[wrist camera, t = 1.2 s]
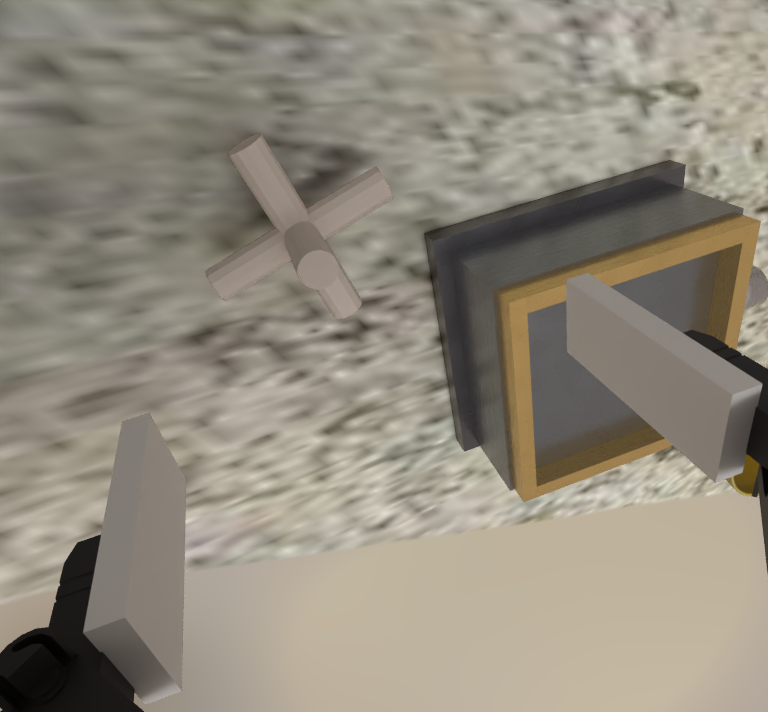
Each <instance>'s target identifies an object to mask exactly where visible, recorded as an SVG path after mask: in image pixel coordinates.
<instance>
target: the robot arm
mask: <svg viewBox="0 0 768 712" xmlns="http://www.w3.org/2000/svg"><path fill="white" fill-rule="evenodd" d="M566 309H567V352H568V353H569V354H570V355H571V356H572V357H574V358H575V359H576V360H577V361H578V362H579V363H580V364H581V365H583V366H584V367H585V368H586V369H587V370H588V371H589V372H591V373H592V374H593V375H594V376H595V377H596V378H597V379H598V380H600V381H601V382H602V383H603V384H604V385H605V386H606V387H607V388H609V389H610V390H611V391H612V392H613V393H614V394H615V395H617V396H618V397H619V398H620V399H621V400H622V401H623V402H624V403H626V404H627V405H628V406H629V407H630V408H631V409H632V410H634V411H635V412H636V413H637V414H638V415H639V416H640V417H641V418H643V419H644V420H645V421H646V422H647V423H648V424H649V425H650V426H652V427H653V428H654V429H655V430H656V431H657V432H658V433H660V434H661V435H662V436H663V437H664V438H665V439H666V440H667V441H669V442H670V443H671V444H672V445H673V446H674V447H675V448H676V449H678V450H679V451H680V452H681V453H682V454H683V455H684V456H686V457H687V458H688V459H689V460H690V461H691V462H692V463H693V464H695V465H696V466H697V467H698V468H699V469H700V470H701V471H703V472H704V473H705V474H706V475H707V476H708V477H709V478H710V479H712V480H713V481H714V482H715V483H717V482H720V481H722V480H725V479H727V478H730V477H733V476H735V475H738V474H740V473H743V468H744V464H745V460H746V455H749V456H750V457H751V458H753V459H754V460H755V461H756V462H758V463H759V468H758V472H757V476H756V480H755V484H754V488H753V493H752V496H753V497H757V496H758V492H759V498H760V507H761V516H762V526H763V535H764V544H765V554H766V563H767V571H768V369H766V368H765V367H763V366H761V365H760V364H758V363H756V362H755V361H753V360H751V359H750V358H748V357H746V356H745V355H744V356H742V355H741V353H740V352H738V351H737V350H735V349H733V348H732V347H731V348H729V347H728V345H727V344H725V343H723V342H722V341H720V340H718V339H717V338H715V337H713V336H711V335H708V334H705V333H701V332H698V331H695V330H689V331H686V332H684V333H682V332H680V331H679V330H677V329H676V328H674V327H672V326H671V325H669V324H668V323H666V322H665V321H663V320H661V319H660V318H658V317H657V316H655V315H654V314H652V313H650V312H649V311H647V310H646V309H644V308H643V307H641V306H639V305H638V304H636V303H635V302H633V301H632V300H630V299H628V298H627V297H625V296H624V295H622V294H621V293H619V292H617V291H616V290H614V289H613V288H611V287H610V286H608V285H606V284H605V283H603V282H602V281H600V280H598V279H597V278H595V277H594V276H592V275H591V274H589V273H586V274H582V275H579V276H576V277H573V278H570V279H567V280H566ZM185 515H186V479H185V478H184V476H183V474H182V472H181V470H180V468H179V467H178V465H177V463H176V461H175V459H174V457H173V456H172V454H171V452H170V450H169V448H168V446H167V444H166V443H165V441H164V439H163V437H162V435H161V433H160V432H159V430H158V428H157V426H156V424H155V422H154V421H153V419H152V417H151V415H150V413H148V414H145V415H141V416H138V417H135V418H132V419H129V420H126V421H123V422H122V425H121V431H120V436H119V441H118V447H117V452H116V458H115V463H114V468H113V474H112V479H111V485H110V490H109V495H108V501H107V506H106V512H105V517H104V522H103V528H102V533H101V535H98V536H95V537H92V538H89V539H87V540H84V541H81V542H78V543H77V544H76V546H75V547H74V549H73V550H72V552H71V553H70V555H69V556H68V558H67V559H66V561H65V563H64V566H63V570H62V574H61V578H60V582H59V583H60V586H59V587H58V591H57V595H56V602H55V603H54V607H53V611H52V615H51V619H50V623H49V627H46V628H38V629H34V630H32V631H30V632H27V633H25V634H23V635H21V636H20V637H18V638H17V639H16V640H14V641H13V642H12V643H10V644H9V645H8V646H7V647H6V648H5V649H4V650H3V651H2V652H1V653H0V708H1V709H2V711H1V712H144V711H143V710H142V709H140V708H139V707H138V706H137V705H136V704H135V703H134V702H133V701H134V692H135V693H136V694H137V695H138V697H139V698H140V699H141V700H142V701H143V702H144V703H145V704H149V703H151V702H154V701H157V700H159V699H162V698H164V697H167V696H169V695H172V694H175V693H177V692H180V691H182V654H183V650H182V649H183V609H184V607H183V606H184V562H185Z"/></svg>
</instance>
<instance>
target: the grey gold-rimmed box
mask: <svg viewBox="0 0 768 712" xmlns="http://www.w3.org/2000/svg"><path fill="white" fill-rule="evenodd" d="M685 167H686V165H684V164H681V163H677V162H674V161H671V160H669V161H666V162H662V163H659V164H656V165H652V166H649V167H646V168H642V169H639V170H636V171H632V172H629V173H626V174H622V175H619V176H615V177H612V178H609V179H605V180H602V181H599V182H595V183H592V184H589V185H585V186H582V187H579V188H575V189H572V190H569V191H565V192H562V193H559V194H555V195H552V196H548V197H545V198H542V199H538V200H535V201H532V202H528V203H525V204H522V205H518V206H515V207H512V208H508V209H505V210H502V211H498V212H495V213H491V214H488V215H485V216H481V217H478V218H475V219H471V220H468V221H465V222H461V223H458V224H455V225H451V226H448V227H445V228H441V229H438V230H435V231H431V232H428V233H425V239H426V245H427V252H428V258H429V265H430V271H431V277H432V284H433V290H434V297H435V303H436V309H437V316H438V322H439V328H440V335H441V341H442V348H443V354H444V360H445V367H446V373H447V380H448V386H449V392H450V399H451V405H452V412H453V418H454V424H455V431H456V437H457V441H458V442H459V444H460V445H461V447H462V449H463V450H464V451H467V450H470V449H473V448H475V447H478V446H480V447H481V448H482V450H483V451H484V453H485V454H486V456H487V457H488V458H489V460H490V461H491V463H492V464H493V466H494V467H495V469H496V470H497V472H498V473H499V475H500V476H501V478H502V479H503V481H504V482H505V484H506V485H507V486H508V488H509V489H510V491H511V490H513V489H515V490H516V491H517V493H518V494H519V496H520V497H521V499H522V500H523V502H526V501H528V500H531V499H533V498H536V497H539V496H541V495H544V494H547V493H549V492H552V491H555V490H557V489H560V488H562V487H565V486H568V485H570V484H573V483H576V482H578V481H581V480H584V479H586V478H589V477H591V476H594V475H597V474H599V473H602V472H605V471H607V470H610V469H613V468H615V467H618V466H620V465H623V464H626V463H628V462H631V461H634V460H636V459H639V458H642V457H644V456H647V455H649V454H652V453H655V452H657V451H660V450H663V449H665V448H668V447H671V446H673V445H672V444H671V443H670V442H669V441H667V440H666V439H665V438H664V437H663V436H662V435H661V434H660V433H658V432H657V431H656V430H655V429H654V428H653V427H652V426H650V425H649V424H648V423H647V422H646V421H645V420H644V419H643V418H641V417H640V416H639V415H638V414H637V413H636V412H635V411H634V410H632V409H631V408H630V407H629V406H628V405H627V404H626V403H624V402H623V401H622V400H621V399H620V398H619V397H618V396H617V395H615V394H614V393H613V392H612V391H611V390H610V389H609V388H607V387H606V386H605V385H604V384H603V383H602V382H601V381H600V380H598V379H597V378H596V377H595V376H594V375H593V374H592V373H591V372H589V371H588V370H587V369H586V368H585V367H584V366H583V365H581V364H580V363H579V362H578V361H577V360H576V359H575V358H574V357H572V356H571V355H570V354H569V353H568V352H567V309H566V280H567V279H570V278H573V277H576V276H579V275H582V274H586V273H589V274H591V275H592V276H594V277H595V278H597V279H598V280H600V281H602V282H603V283H605V284H606V285H608V286H610V287H611V288H613V289H614V290H616V291H617V292H619V293H621V294H622V295H624V296H625V297H627V298H628V299H630V300H632V301H633V302H635V303H636V304H638V305H639V306H641V307H643V308H644V309H646V310H647V311H649V312H650V313H652V314H654V315H655V316H657V317H658V318H660V319H661V320H663V321H665V322H666V323H668V324H669V325H671V326H672V327H674V328H676V329H677V330H679V331H680V332H682V333H684V332H686V331H689V330H695V331H698V332H701V333H705V334H708V335H711V336H713V337H715V338H717V339H718V340H720V341H722V342H723V343H725V344H727V345H728V347H729V348H731V347H732V348H733V349H735V350H736V348H737V342H738V337H739V332H740V327H741V322H742V316H743V311H744V310H745V309H748V308H751V307H754V306H757V305H760V304H762V303H763V302H764V301H765V300H766V299H767V297H768V281H767V278H766V276H765V275H764V273H763V272H762V271H761V270H760V269H758V268H757V267H755V266H753V265H752V264H753V259H754V254H755V248H756V243H757V238H758V233H759V228H760V222H761V221H758V220H756V219H753V218H750V217H747V216H744V215H743V209H744V208H741V207H738V206H735V205H732V204H729V203H726V202H723V201H720V200H717V199H714V198H711V197H708V196H706V195H703V194H700V193H697V192H694V191H691V190H688V189H685V188H683V185H684V176H685Z"/></svg>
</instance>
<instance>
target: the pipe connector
mask: <svg viewBox="0 0 768 712" xmlns="http://www.w3.org/2000/svg"><path fill="white" fill-rule="evenodd" d="M228 157H229V158H230V160H231V161H232V163H233V164H234V166H235V167H236V169H237V170H238V172H239V173H240V175H241V176H242V178H243V179H244V181H245V182H246V184H247V185H248V187H249V188H250V190H251V191H252V193H253V195H254V196H255V198H256V199H257V201H258V202H259V204H260V205H261V207H262V208H263V210H264V211H265V213H266V214H267V216H268V217H269V219H270V220H271V222H272V223H273V225H274V226H275V228H274V229H273V230H271V231H269V232H268V233H266V234H265V235H263V236H261V237H260V238H258V239H256V240H255V241H253V242H252V243H250V244H248V245H247V246H245V247H243V248H242V249H240V250H238V251H237V252H235V253H234V254H232V255H230V256H229V257H227V258H225V259H224V260H222V261H221V262H219V263H217V264H216V265H214V266H212V267H211V268H209V269H208V270H206V271H205V272H206V275H207V278H208V280H209V281H210V283H211V285H212V286H213V288H214V289H215V291H216V292H217V293H218V294H219V295H220V297H221V298H222V299H224V300H225V301H226V300H228V299H230V298H231V297H233V296H235V295H236V294H238V293H240V292H241V291H243V290H244V289H246V288H248V287H249V286H251V285H253V284H254V283H256V282H257V281H259V280H261V279H262V278H264V277H266V276H267V275H269V274H271V273H272V272H274V271H275V270H277V269H279V268H280V267H282V266H284V265H285V264H287V263H289V262H290V261H292V263H293V265H294V268H295V270H296V272H297V275H298V277H299V279H300V281H301V282H302V283H303V285H305V286H306V287H308V288H311V289H316V290H317V292H318V293H319V295H320V296H321V298H322V299H323V301H324V303H325V304H326V306H327V307H328V309H329V310H330V312H331V313H332V315H333V316H334V317H335V318H337V319H343V318H346V317H348V316H350V315H352V314H353V313H355V312H356V311H357V310H358V309H359V308H360V306H361V304H362V299H361V298H360V296H359V294H358V293H357V291H356V289H355V288H354V286H353V285H352V283H351V281H350V280H349V278H348V276H347V275H346V273H345V271H344V270H343V268H342V266H341V265H340V263H339V261H338V260H337V258H336V256H335V255H334V253H333V251H332V250H331V248H330V247H329V245H328V243H327V242H326V239H328V238H329V237H331V236H333V235H334V234H336V233H338V232H339V231H341V230H342V229H344V228H346V227H347V226H349V225H351V224H352V223H354V222H356V221H357V220H359V219H360V218H362V217H364V216H365V215H367V214H369V213H370V212H372V211H373V210H375V209H377V208H378V207H380V206H382V205H383V204H385V203H387V202H388V201H390V200H391V199H393V194H392V192H391V190H390V188H389V186H388V184H387V182H386V180H385V178H384V177H383V175H382V174H381V172H380V171H379V169H378V168H377V167H374V168H372V169H371V170H369V171H367V172H366V173H364V174H362V175H361V176H359V177H357V178H356V179H354V180H353V181H351V182H349V183H348V184H346V185H344V186H343V187H341V188H340V189H338V190H336V191H335V192H333V193H331V194H330V195H328V196H326V197H325V198H323V199H322V200H320V201H318V202H317V203H315V204H313V205H312V206H310V207H309V208H307V209H306V207H305V205H304V204H303V202H302V200H301V199H300V197H299V195H298V194H297V192H296V190H295V189H294V187H293V185H292V184H291V182H290V180H289V179H288V177H287V175H286V174H285V172H284V171H283V169H282V167H281V166H280V164H279V162H278V161H277V159H276V157H275V156H274V154H273V152H272V151H271V149H270V147H269V146H268V144H267V142H266V141H265V139H264V138H263V136H262V134H256V135H253V136H251V137H249V138H247V139H245V140H243V141H242V142H240V143H239V144H238V145H236V146H235V147H234V148H232V149H231V150H230V151H229V153H228Z"/></svg>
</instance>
